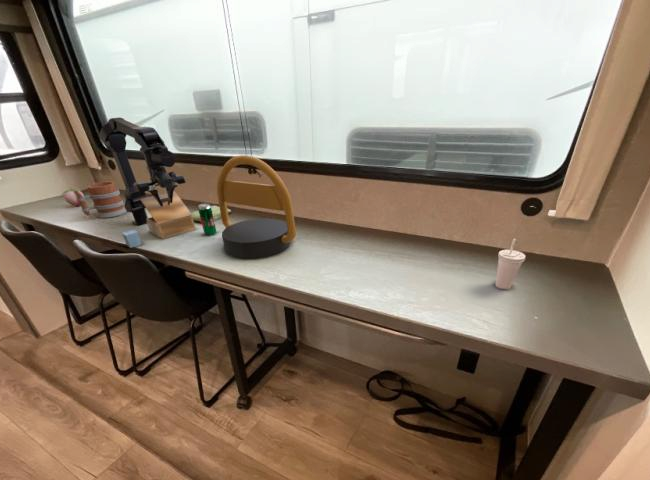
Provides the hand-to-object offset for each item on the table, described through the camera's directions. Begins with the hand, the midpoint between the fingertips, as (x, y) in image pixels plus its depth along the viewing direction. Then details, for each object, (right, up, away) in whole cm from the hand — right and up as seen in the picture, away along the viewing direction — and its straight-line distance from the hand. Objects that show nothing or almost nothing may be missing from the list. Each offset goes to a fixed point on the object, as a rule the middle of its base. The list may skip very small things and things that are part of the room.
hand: (166, 204), depth 137 cm
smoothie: (+115, -36, -44) cm, 129 cm away
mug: (-44, +3, +31) cm, 54 cm away
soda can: (+18, -12, +2) cm, 22 cm away
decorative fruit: (-72, +13, +49) cm, 88 cm away
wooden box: (0, -9, +7) cm, 12 cm away
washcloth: (+11, 0, +21) cm, 24 cm away
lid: (0, -1, +2) cm, 2 cm away
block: (-10, -18, -5) cm, 21 cm away
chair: (+40, -19, -11) cm, 46 cm away
